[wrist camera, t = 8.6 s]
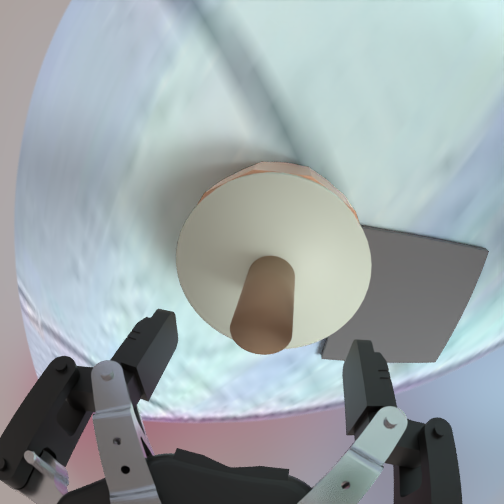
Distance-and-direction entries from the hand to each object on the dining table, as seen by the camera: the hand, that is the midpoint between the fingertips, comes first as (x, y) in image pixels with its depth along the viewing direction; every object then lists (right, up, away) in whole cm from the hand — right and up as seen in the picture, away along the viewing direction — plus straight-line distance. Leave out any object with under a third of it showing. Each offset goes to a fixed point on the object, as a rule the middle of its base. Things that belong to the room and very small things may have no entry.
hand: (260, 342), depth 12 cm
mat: (+14, -1, +11) cm, 18 cm away
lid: (+1, +3, +6) cm, 6 cm away
